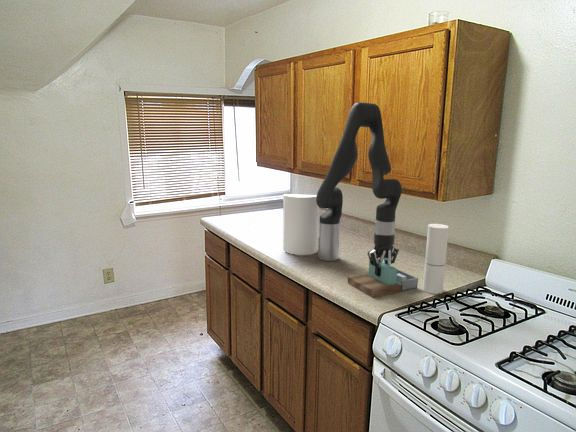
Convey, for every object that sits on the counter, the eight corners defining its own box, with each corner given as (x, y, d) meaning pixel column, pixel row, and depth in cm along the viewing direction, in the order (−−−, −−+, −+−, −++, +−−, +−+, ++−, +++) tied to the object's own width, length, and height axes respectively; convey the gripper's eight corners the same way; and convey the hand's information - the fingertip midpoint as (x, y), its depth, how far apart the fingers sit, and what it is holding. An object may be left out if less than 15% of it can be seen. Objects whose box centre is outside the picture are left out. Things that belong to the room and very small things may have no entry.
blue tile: (395, 274, 161) (399, 273, 161) (394, 283, 161) (398, 283, 162) (402, 277, 157) (406, 276, 158) (401, 287, 158) (405, 286, 159)
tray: (374, 277, 169) (375, 268, 168) (389, 274, 173) (390, 265, 172) (401, 291, 155) (402, 281, 154) (417, 288, 159) (418, 278, 158)
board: (347, 282, 163) (347, 276, 163) (374, 277, 169) (374, 272, 168) (373, 297, 149) (373, 291, 149) (400, 291, 155) (401, 285, 154)
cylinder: (315, 256, 197) (316, 198, 191) (279, 253, 200) (280, 196, 194) (319, 246, 213) (321, 192, 207) (287, 244, 216) (287, 191, 211)
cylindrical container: (438, 286, 160) (444, 223, 155) (445, 293, 153) (452, 228, 148) (420, 286, 160) (425, 223, 155) (426, 293, 153) (432, 228, 148)
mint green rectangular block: (368, 275, 165) (369, 260, 163) (375, 273, 166) (376, 259, 165) (388, 285, 154) (389, 270, 153) (395, 283, 156) (397, 268, 155)
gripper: (392, 227, 163) (389, 269, 166) (363, 231, 156) (361, 274, 160) (405, 232, 156) (402, 275, 160) (376, 236, 150) (373, 281, 153)
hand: (382, 274), depth 160 cm, fingers closed on mint green rectangular block, 3 cm apart
